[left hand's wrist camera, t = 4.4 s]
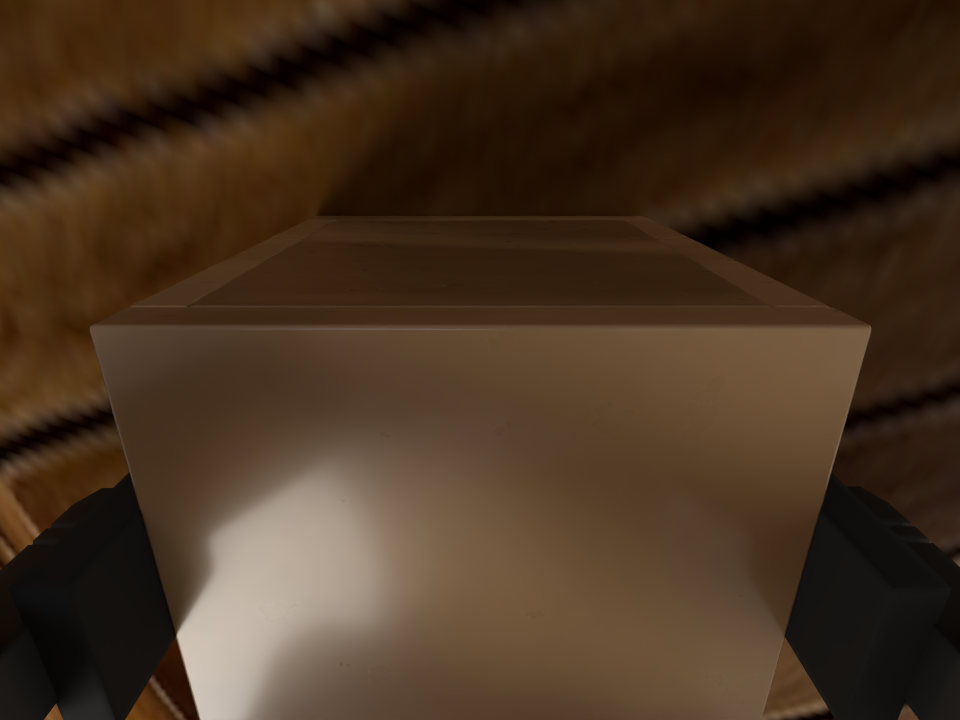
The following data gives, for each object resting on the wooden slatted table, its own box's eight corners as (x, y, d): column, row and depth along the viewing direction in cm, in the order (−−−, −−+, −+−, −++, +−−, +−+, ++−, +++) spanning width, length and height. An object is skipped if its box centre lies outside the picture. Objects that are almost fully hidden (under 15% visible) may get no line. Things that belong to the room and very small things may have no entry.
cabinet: (602, 612, 24) (693, 966, 14) (357, 612, 24) (266, 966, 14) (646, 215, 18) (875, 325, 7) (314, 215, 18) (85, 325, 7)
